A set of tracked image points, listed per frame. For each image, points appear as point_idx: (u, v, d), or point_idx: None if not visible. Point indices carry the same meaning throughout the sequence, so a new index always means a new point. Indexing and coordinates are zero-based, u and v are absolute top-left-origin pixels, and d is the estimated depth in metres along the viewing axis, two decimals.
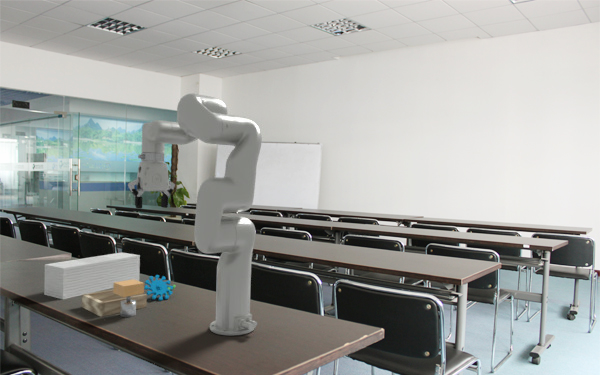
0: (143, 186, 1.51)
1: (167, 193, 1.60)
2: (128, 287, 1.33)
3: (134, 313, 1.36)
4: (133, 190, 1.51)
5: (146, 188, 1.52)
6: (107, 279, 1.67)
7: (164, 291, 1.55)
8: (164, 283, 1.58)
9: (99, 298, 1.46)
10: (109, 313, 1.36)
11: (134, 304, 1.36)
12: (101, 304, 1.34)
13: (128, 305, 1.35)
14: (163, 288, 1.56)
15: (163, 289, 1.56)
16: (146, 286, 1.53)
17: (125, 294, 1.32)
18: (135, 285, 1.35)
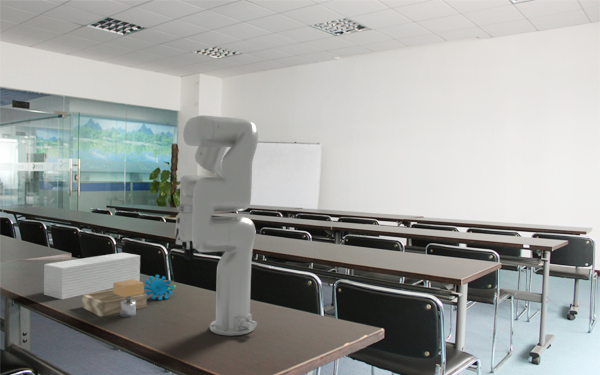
0: (182, 237, 1.60)
1: None
2: (128, 287, 1.33)
3: (134, 313, 1.36)
4: (183, 243, 1.62)
5: (184, 239, 1.60)
6: (107, 279, 1.66)
7: (164, 291, 1.56)
8: (164, 283, 1.58)
9: (99, 298, 1.46)
10: (109, 313, 1.36)
11: (134, 304, 1.36)
12: (101, 304, 1.34)
13: (128, 305, 1.35)
14: (163, 288, 1.56)
15: (163, 289, 1.56)
16: (146, 286, 1.53)
17: (125, 294, 1.32)
18: (135, 285, 1.35)
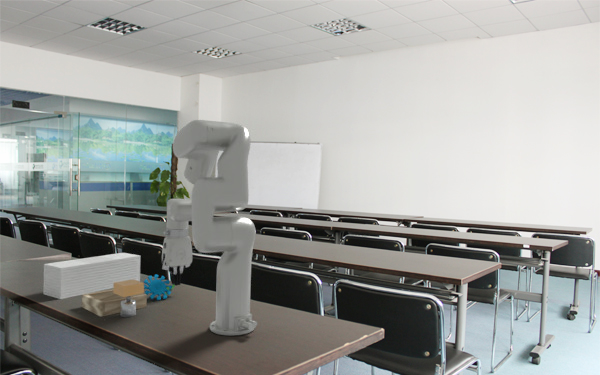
0: (168, 262, 1.56)
1: (181, 270, 1.61)
2: (128, 287, 1.33)
3: (134, 313, 1.36)
4: (170, 268, 1.58)
5: (171, 264, 1.56)
6: (107, 279, 1.66)
7: (162, 291, 1.55)
8: (163, 283, 1.58)
9: (99, 298, 1.46)
10: (109, 313, 1.36)
11: (134, 304, 1.36)
12: (101, 304, 1.34)
13: (128, 305, 1.35)
14: (162, 288, 1.56)
15: (162, 289, 1.56)
16: (144, 286, 1.53)
17: (125, 294, 1.32)
18: (135, 285, 1.35)
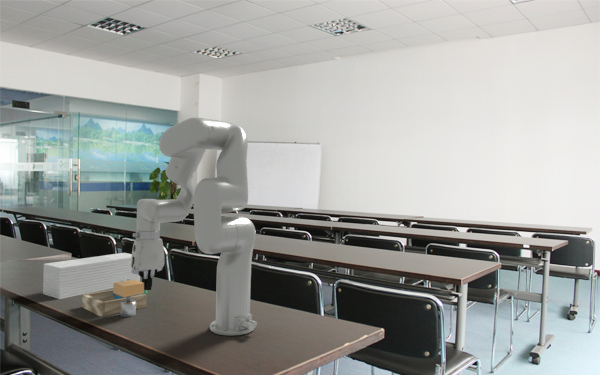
0: (137, 266, 1.47)
1: (152, 274, 1.53)
2: (128, 287, 1.33)
3: (134, 313, 1.36)
4: (140, 273, 1.50)
5: (141, 268, 1.48)
6: (106, 279, 1.66)
7: None
8: None
9: (99, 298, 1.46)
10: (109, 313, 1.36)
11: (134, 304, 1.36)
12: (101, 304, 1.34)
13: (128, 305, 1.35)
14: None
15: None
16: None
17: (125, 294, 1.32)
18: (135, 285, 1.35)
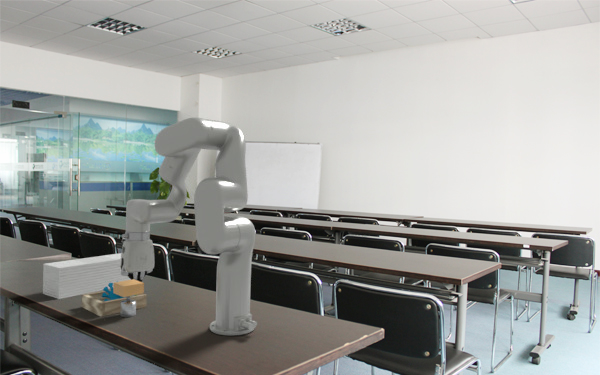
0: (127, 268, 1.44)
1: (142, 276, 1.50)
2: (128, 287, 1.33)
3: (134, 313, 1.36)
4: (129, 274, 1.47)
5: (130, 270, 1.45)
6: (106, 279, 1.66)
7: None
8: None
9: (99, 298, 1.46)
10: (109, 313, 1.36)
11: (134, 304, 1.36)
12: (101, 304, 1.34)
13: (128, 305, 1.35)
14: None
15: (123, 297, 1.44)
16: (104, 294, 1.42)
17: (125, 294, 1.32)
18: (135, 285, 1.35)
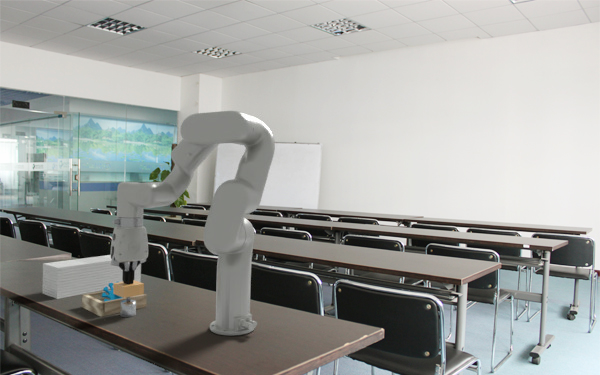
0: (117, 257, 1.31)
1: (134, 266, 1.36)
2: (128, 288, 1.33)
3: (134, 313, 1.36)
4: (120, 264, 1.34)
5: (121, 259, 1.32)
6: (105, 279, 1.66)
7: None
8: None
9: (99, 298, 1.46)
10: (109, 313, 1.36)
11: (134, 304, 1.36)
12: (101, 304, 1.34)
13: (128, 305, 1.35)
14: None
15: None
16: (104, 294, 1.42)
17: (125, 295, 1.32)
18: (135, 286, 1.35)
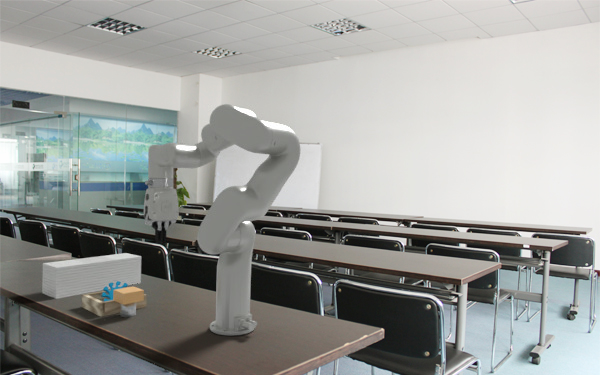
0: (152, 216, 1.36)
1: (166, 226, 1.42)
2: (128, 294, 1.33)
3: (134, 313, 1.36)
4: (153, 224, 1.39)
5: (155, 218, 1.37)
6: (105, 279, 1.66)
7: None
8: None
9: (99, 298, 1.46)
10: (109, 313, 1.36)
11: (134, 304, 1.36)
12: (101, 304, 1.34)
13: (128, 305, 1.35)
14: None
15: None
16: (103, 293, 1.42)
17: (125, 302, 1.32)
18: (135, 292, 1.35)
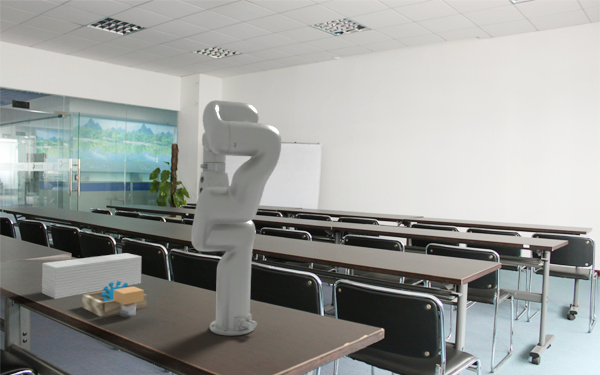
0: None
1: None
2: (128, 294, 1.33)
3: (134, 313, 1.36)
4: None
5: None
6: (105, 279, 1.65)
7: None
8: None
9: (99, 298, 1.46)
10: (109, 313, 1.36)
11: (134, 304, 1.36)
12: (101, 304, 1.34)
13: (128, 305, 1.35)
14: None
15: None
16: (103, 293, 1.43)
17: (125, 302, 1.32)
18: (135, 292, 1.35)
